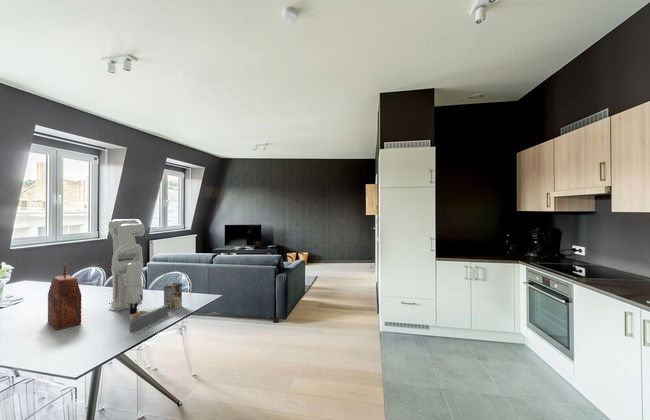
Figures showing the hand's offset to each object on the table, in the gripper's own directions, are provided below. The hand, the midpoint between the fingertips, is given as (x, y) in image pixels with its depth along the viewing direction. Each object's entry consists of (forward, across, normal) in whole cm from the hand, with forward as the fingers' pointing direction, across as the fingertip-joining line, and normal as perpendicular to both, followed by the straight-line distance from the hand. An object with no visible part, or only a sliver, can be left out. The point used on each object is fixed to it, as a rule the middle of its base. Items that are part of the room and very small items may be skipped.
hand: (133, 313), depth 155 cm
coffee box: (+5, +8, +22) cm, 24 cm away
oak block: (+5, +4, 0) cm, 7 cm away
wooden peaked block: (+4, -36, -11) cm, 38 cm away
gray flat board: (+4, +12, 0) cm, 13 cm away
